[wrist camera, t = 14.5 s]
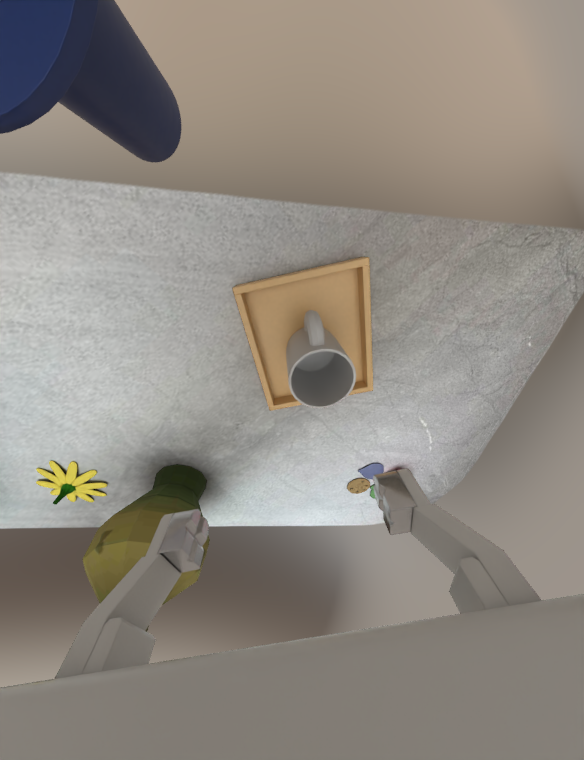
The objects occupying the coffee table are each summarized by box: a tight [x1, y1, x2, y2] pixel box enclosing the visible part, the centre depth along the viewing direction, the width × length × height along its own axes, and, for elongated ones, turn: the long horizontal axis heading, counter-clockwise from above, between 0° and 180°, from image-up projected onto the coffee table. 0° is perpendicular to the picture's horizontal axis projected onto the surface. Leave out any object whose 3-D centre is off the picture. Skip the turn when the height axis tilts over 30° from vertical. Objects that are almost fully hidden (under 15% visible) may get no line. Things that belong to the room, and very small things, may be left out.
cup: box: [286, 310, 356, 408], centre depth 27 cm, size 7×10×9 cm
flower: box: [36, 461, 107, 504], centre depth 41 cm, size 4×12×12 cm
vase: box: [83, 464, 210, 632], centre depth 31 cm, size 16×16×30 cm
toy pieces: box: [347, 464, 384, 498], centre depth 45 cm, size 12×11×4 cm
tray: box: [232, 257, 373, 411], centre depth 31 cm, size 18×16×3 cm
